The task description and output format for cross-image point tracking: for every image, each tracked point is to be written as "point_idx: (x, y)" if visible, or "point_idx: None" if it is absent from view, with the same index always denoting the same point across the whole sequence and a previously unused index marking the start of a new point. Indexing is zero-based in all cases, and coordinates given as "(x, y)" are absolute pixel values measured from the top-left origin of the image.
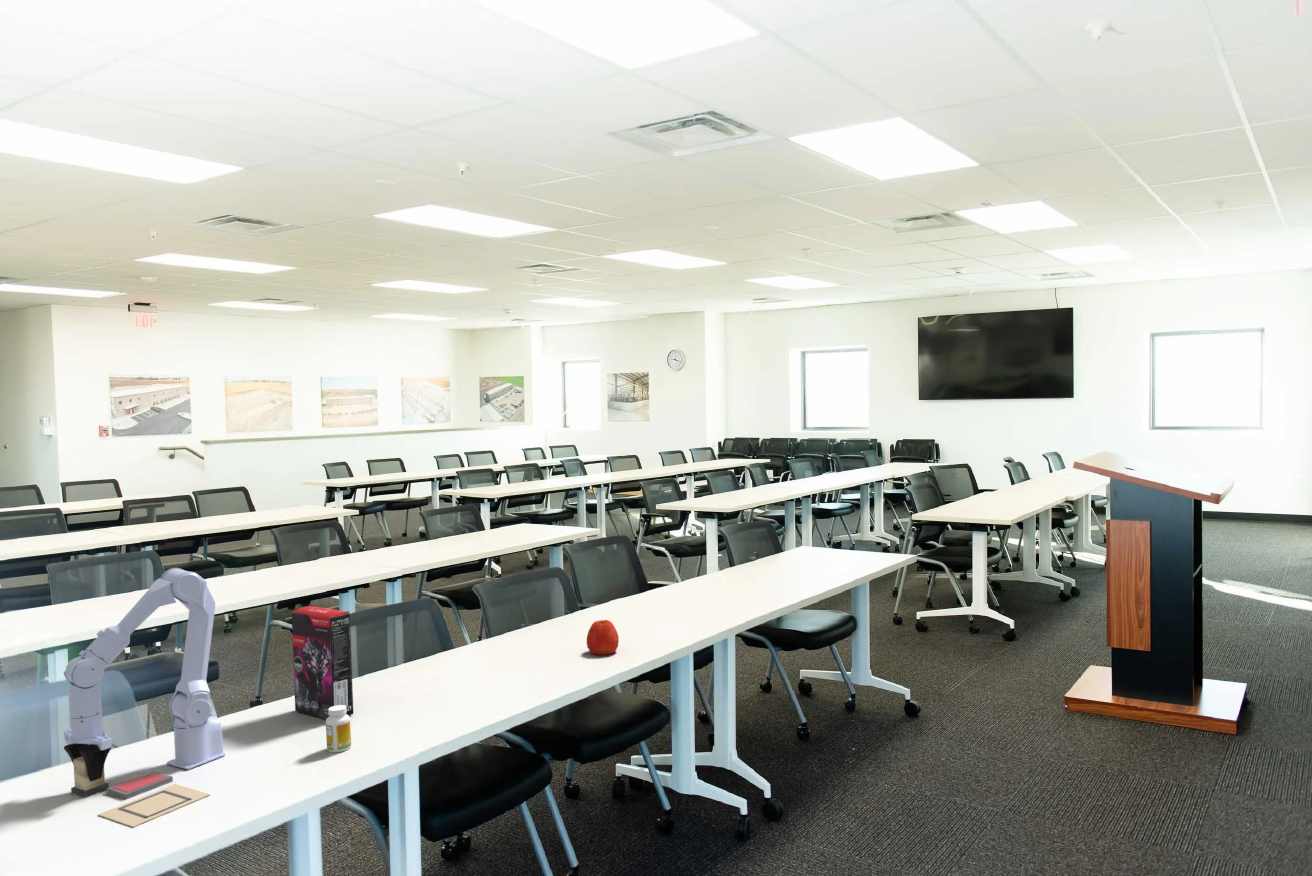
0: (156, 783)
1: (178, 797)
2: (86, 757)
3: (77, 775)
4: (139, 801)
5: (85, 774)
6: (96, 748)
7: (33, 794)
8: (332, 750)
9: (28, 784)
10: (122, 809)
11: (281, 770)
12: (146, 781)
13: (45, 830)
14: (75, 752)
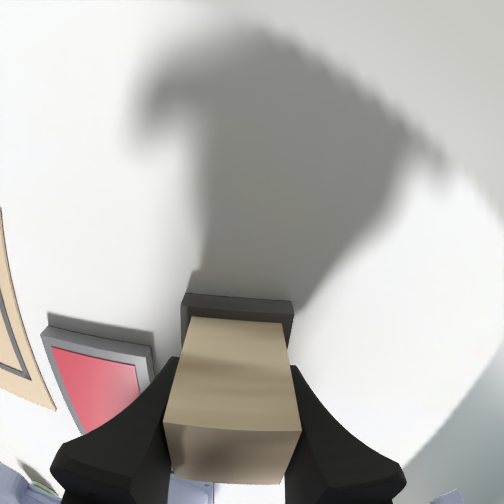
0: (67, 404)
1: None
2: (90, 440)
3: (254, 361)
4: (2, 317)
5: (177, 369)
6: (67, 495)
7: (433, 238)
8: (34, 483)
9: (495, 283)
10: None
11: (13, 447)
12: (94, 409)
13: (41, 58)
14: (309, 472)
